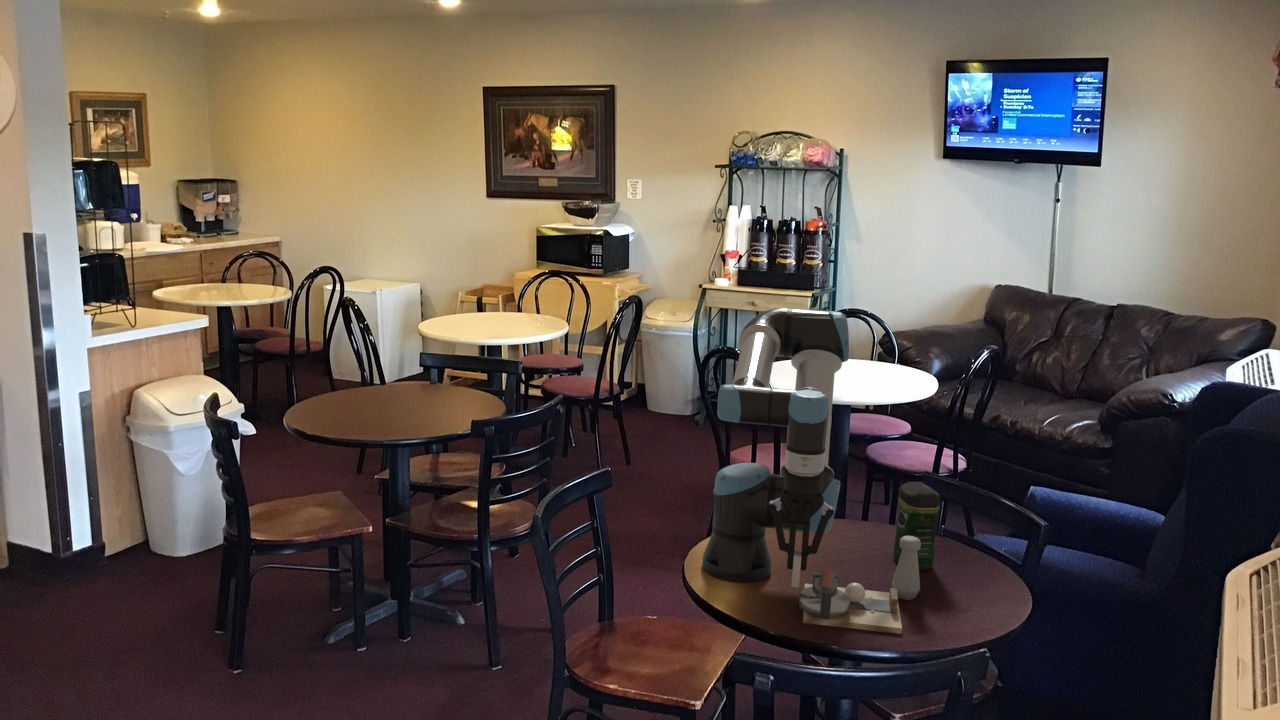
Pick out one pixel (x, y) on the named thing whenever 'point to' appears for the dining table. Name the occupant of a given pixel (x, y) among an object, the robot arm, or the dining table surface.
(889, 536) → the dining table surface
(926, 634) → the dining table surface
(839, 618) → the stand
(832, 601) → the grey round-based piece
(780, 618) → the dining table surface
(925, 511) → the coffee jar
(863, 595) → the ball
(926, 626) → the dining table surface
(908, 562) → the salt shaker
